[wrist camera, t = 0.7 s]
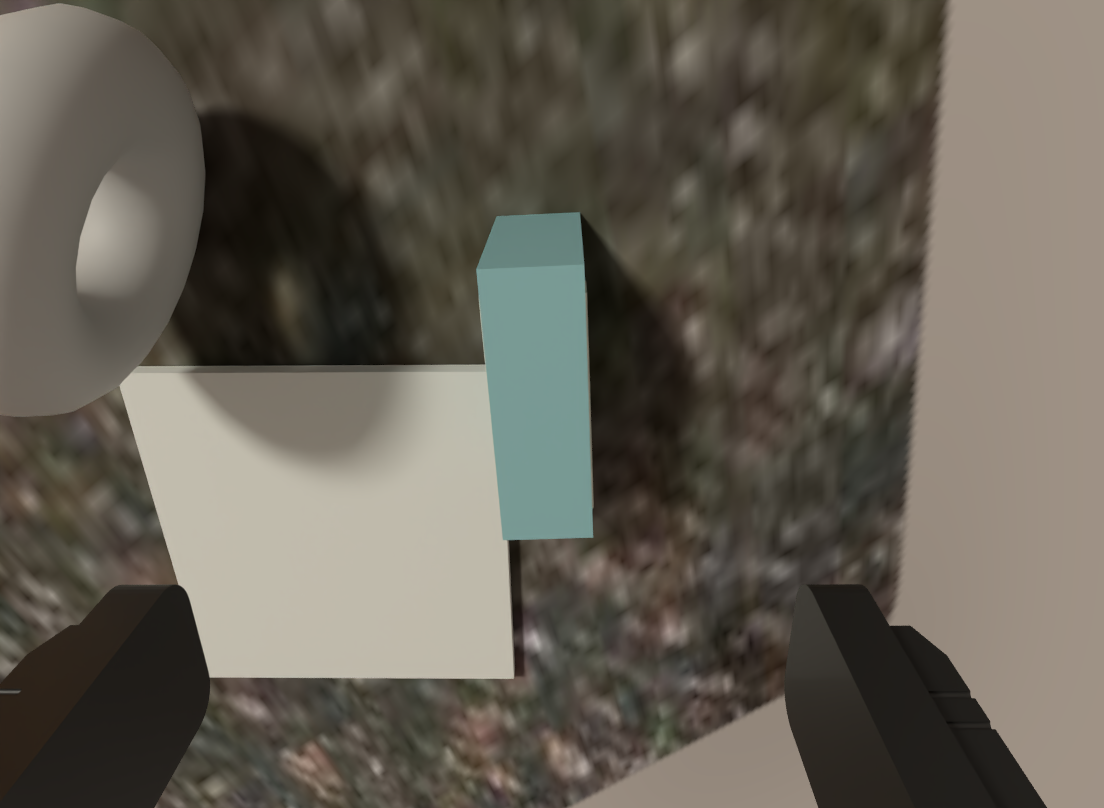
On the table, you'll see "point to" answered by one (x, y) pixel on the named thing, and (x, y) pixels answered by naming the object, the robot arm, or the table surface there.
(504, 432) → the box
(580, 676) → the table surface
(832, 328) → the table surface
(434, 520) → the mat
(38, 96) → the donut
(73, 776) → the robot arm
